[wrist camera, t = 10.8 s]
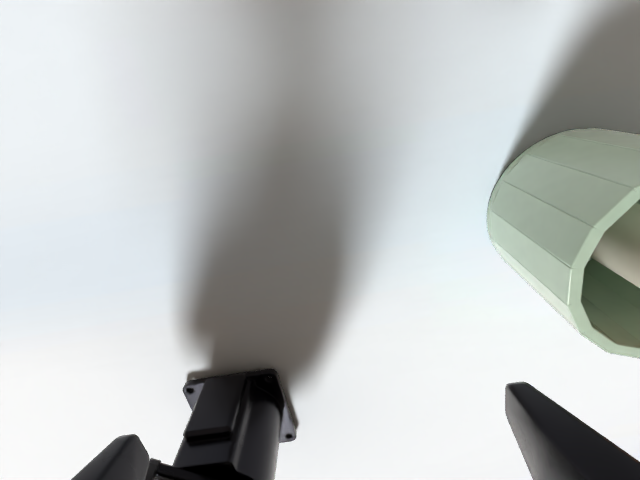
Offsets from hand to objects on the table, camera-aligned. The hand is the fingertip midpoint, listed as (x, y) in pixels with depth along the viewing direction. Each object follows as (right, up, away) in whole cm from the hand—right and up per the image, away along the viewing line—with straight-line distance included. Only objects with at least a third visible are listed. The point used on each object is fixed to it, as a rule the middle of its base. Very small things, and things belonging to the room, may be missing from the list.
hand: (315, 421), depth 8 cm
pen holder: (+13, +6, +10) cm, 18 cm away
